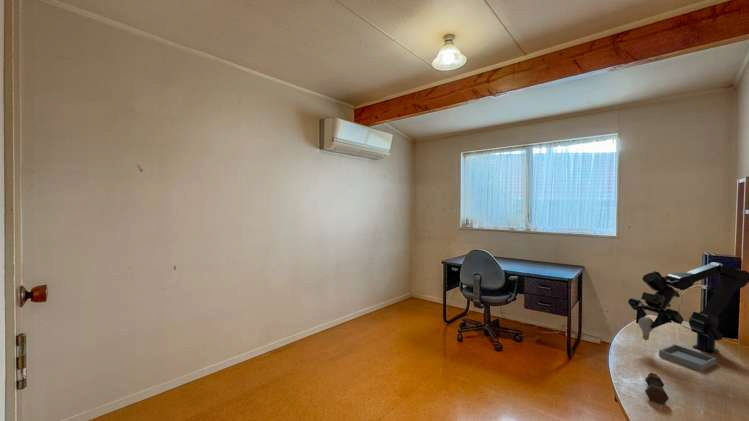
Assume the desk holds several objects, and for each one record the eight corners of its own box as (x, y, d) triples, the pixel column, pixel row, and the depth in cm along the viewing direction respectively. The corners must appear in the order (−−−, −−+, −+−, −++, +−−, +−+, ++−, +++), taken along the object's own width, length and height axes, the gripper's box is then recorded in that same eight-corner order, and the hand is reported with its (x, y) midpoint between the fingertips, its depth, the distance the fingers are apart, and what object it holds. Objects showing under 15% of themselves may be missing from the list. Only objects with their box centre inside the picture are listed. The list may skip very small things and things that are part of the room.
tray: (674, 349, 141) (674, 344, 141) (716, 363, 129) (716, 357, 129) (658, 355, 135) (659, 350, 135) (701, 371, 124) (701, 365, 123)
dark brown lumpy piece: (655, 388, 116) (659, 408, 104) (640, 377, 119) (642, 395, 107) (667, 377, 114) (672, 396, 102) (651, 366, 117) (654, 383, 105)
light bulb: (650, 343, 135) (651, 320, 134) (635, 338, 140) (635, 316, 139) (656, 341, 137) (657, 318, 137) (641, 336, 142) (642, 314, 142)
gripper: (631, 280, 148) (613, 306, 145) (680, 292, 130) (660, 322, 127) (642, 295, 150) (624, 321, 147) (691, 309, 132) (672, 338, 130)
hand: (644, 325), depth 138 cm, fingers closed on light bulb, 5 cm apart
